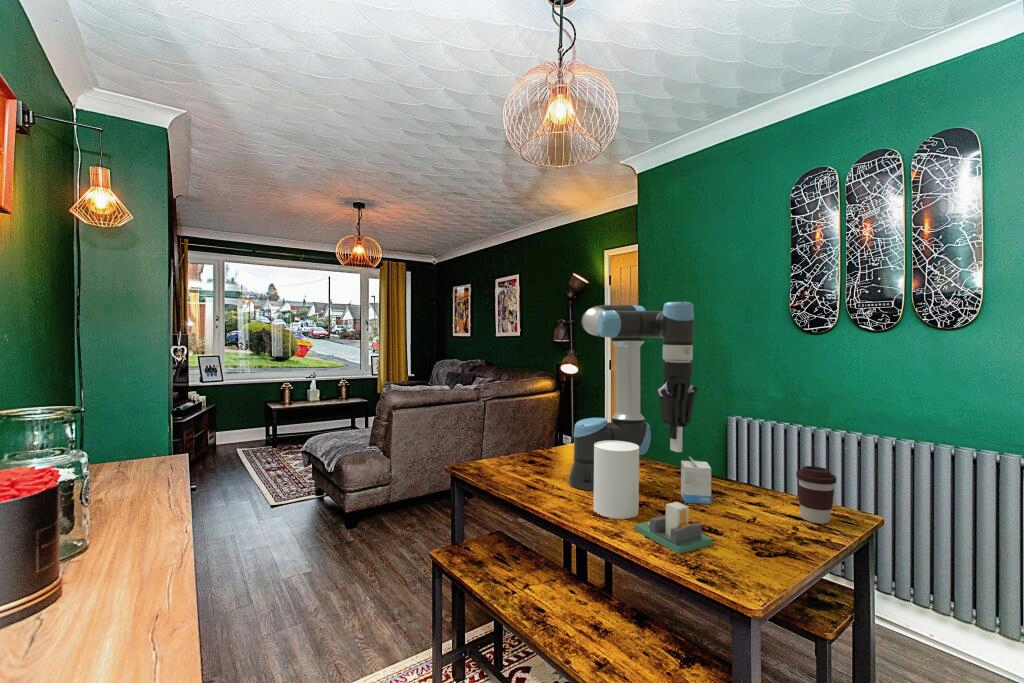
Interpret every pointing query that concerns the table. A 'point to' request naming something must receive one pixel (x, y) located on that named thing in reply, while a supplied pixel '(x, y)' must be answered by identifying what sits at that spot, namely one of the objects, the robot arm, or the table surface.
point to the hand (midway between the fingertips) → (676, 450)
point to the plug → (676, 516)
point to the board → (671, 546)
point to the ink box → (695, 482)
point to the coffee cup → (815, 493)
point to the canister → (616, 479)
